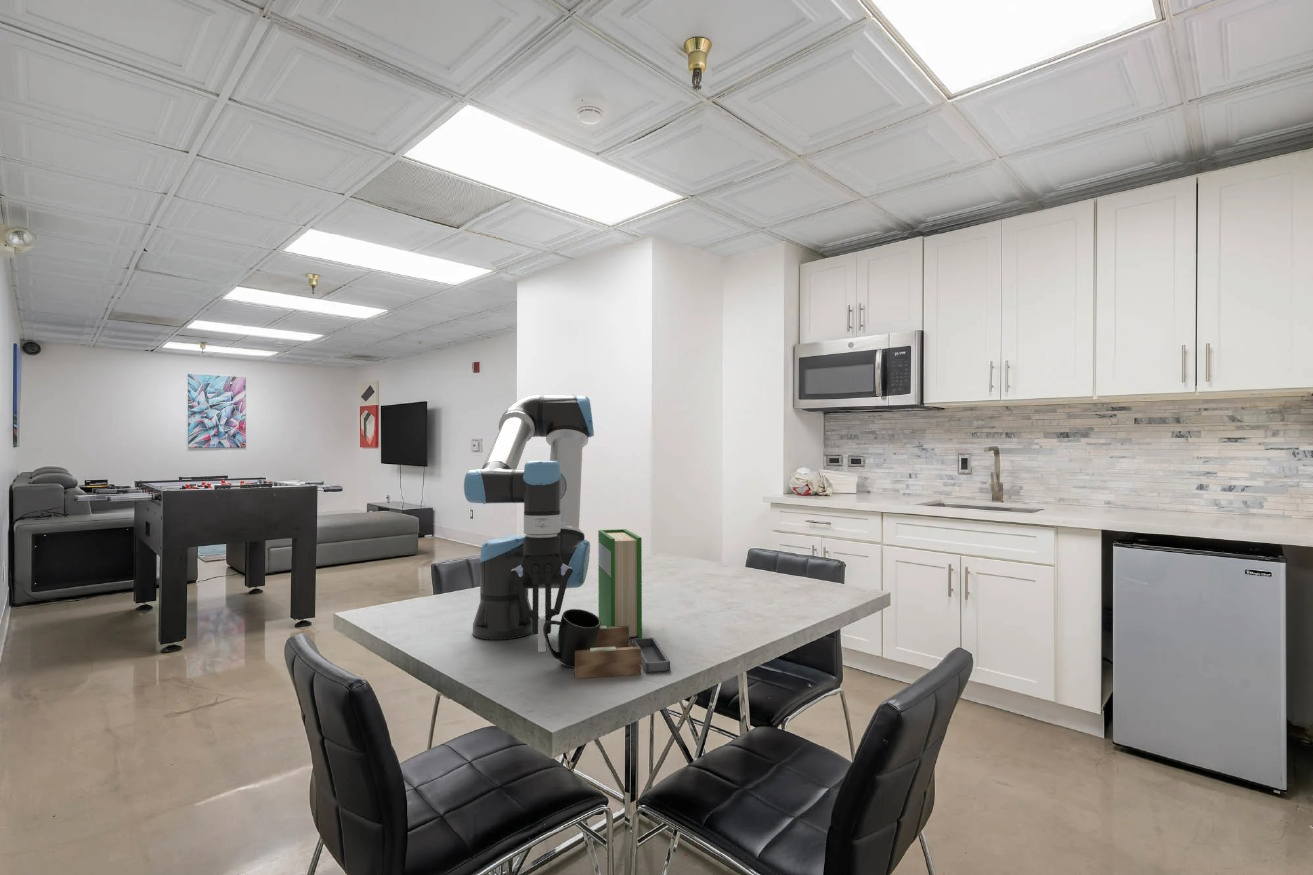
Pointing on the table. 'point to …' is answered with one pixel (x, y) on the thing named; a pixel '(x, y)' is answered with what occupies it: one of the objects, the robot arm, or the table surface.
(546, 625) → the mug
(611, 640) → the lane walls
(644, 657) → the tray
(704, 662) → the table surface
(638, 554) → the hardback book
